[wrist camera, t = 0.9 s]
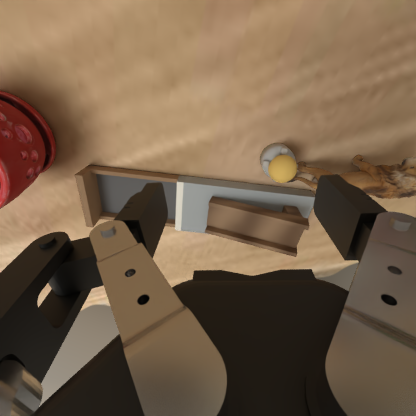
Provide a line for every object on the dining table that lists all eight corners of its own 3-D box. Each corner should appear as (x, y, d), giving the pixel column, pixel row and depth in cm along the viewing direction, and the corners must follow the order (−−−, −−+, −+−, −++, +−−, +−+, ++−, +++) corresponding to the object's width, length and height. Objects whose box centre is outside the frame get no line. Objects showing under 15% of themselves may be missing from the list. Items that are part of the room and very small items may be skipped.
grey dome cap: (295, 144, 31) (303, 150, 29) (286, 174, 34) (292, 183, 31) (263, 140, 31) (267, 146, 29) (255, 170, 34) (259, 179, 31)
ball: (296, 152, 30) (305, 162, 26) (288, 177, 31) (295, 188, 28) (269, 149, 29) (275, 158, 26) (263, 174, 31) (268, 185, 28)
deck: (310, 190, 35) (316, 197, 33) (293, 234, 40) (297, 243, 38) (179, 175, 35) (176, 181, 33) (177, 221, 39) (175, 230, 37)
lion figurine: (391, 138, 31) (449, 161, 23) (386, 173, 33) (436, 203, 26) (283, 164, 33) (302, 192, 26) (286, 195, 36) (305, 228, 28)
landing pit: (179, 175, 35) (175, 186, 31) (177, 221, 39) (173, 235, 36) (89, 164, 34) (75, 175, 31) (98, 213, 39) (86, 226, 36)
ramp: (300, 205, 34) (312, 226, 29) (288, 234, 37) (299, 257, 32) (209, 195, 34) (207, 215, 29) (205, 225, 36) (203, 247, 32)
